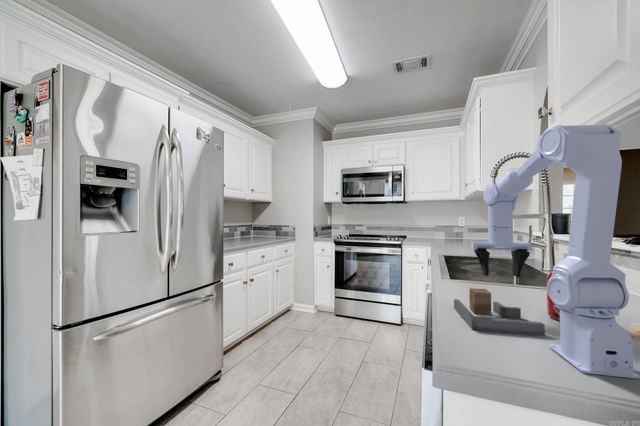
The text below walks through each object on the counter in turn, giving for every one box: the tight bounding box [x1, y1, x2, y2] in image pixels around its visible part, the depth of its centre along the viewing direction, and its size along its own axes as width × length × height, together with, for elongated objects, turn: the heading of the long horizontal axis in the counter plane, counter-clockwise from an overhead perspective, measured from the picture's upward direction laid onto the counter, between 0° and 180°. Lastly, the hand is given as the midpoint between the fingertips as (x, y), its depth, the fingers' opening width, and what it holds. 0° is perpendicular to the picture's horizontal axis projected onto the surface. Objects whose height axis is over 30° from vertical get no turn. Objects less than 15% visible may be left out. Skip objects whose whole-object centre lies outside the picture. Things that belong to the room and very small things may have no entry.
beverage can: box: [546, 270, 560, 321], centre depth 69 cm, size 6×6×12 cm
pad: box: [466, 307, 498, 319], centre depth 72 cm, size 6×6×1 cm
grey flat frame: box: [453, 298, 546, 337], centre depth 68 cm, size 15×15×2 cm
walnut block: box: [468, 287, 492, 316], centre depth 73 cm, size 4×4×6 cm
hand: (500, 275), depth 75 cm, fingers open, 7 cm apart
